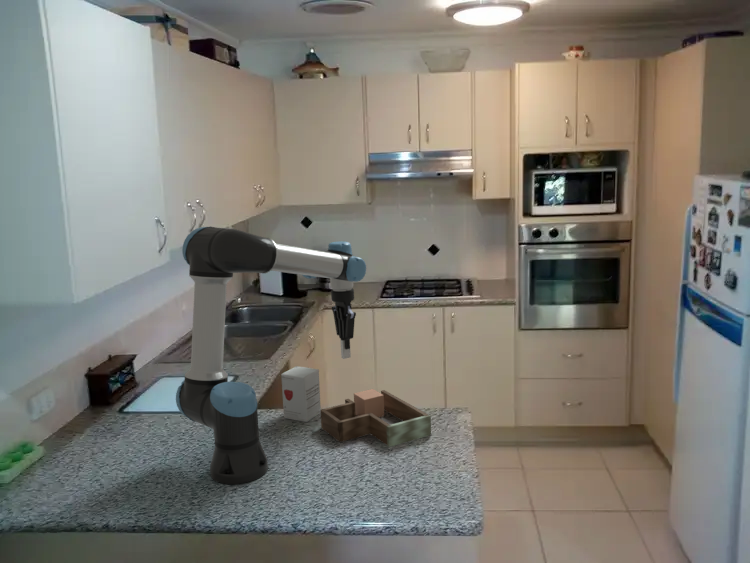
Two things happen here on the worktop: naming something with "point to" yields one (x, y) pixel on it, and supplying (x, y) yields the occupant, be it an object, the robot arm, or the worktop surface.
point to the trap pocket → (344, 422)
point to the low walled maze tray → (398, 433)
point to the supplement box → (301, 393)
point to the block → (369, 403)
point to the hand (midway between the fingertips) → (346, 357)
